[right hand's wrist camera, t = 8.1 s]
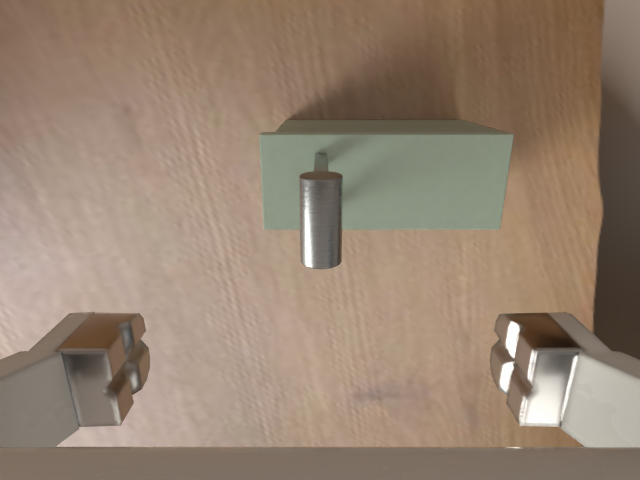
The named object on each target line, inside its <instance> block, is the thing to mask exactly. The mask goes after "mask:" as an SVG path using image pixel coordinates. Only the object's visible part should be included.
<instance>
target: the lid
mask: <svg viewBox="0 0 640 480" xmlns="http://www.w3.org/2000/svg"><path fill="white" fill-rule="evenodd" d="M513 138H514V134H511V133H507V132H262V133H261V134H260V135H259V139H260V160H261V181H262V202H263V223H264V230H300V246H301V263H302V264H303V265H304V266H306V267H309V268H314V269H328V268H333V267H336V266H338V265H339V264H340V263H341V257H342V230H499V229H500V225H501V219H502V212H503V205H504V199H505V192H506V185H507V178H508V172H509V165H510V158H511V151H512V145H513Z"/></svg>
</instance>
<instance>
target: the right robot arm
mask: <svg viewBox="0 0 640 480" xmlns="http://www.w3.org/2000/svg"><path fill="white" fill-rule="evenodd" d="M145 331H146V329H145V324H144V319H143V317H142V316H141V315H140V314H138V313H94V312H85V313H69V314H68V315H67V316H66V317H65V318H64V319H63V320H62V321H61V322H60V323H59V324H57V325H56V326H55V327H54V328H53V329H52V330H51V331H50V332H49V333H48V334H47V335H45V336H44V337H43V338H42V339H41V340H40V341H39V342H38V343H37V344H36V345H35V346H33V347H32V348H31V349H30V350H29V351H28V352H18V353H16V354H13V355H11V356H9V357H6V358H4V359H1V360H0V480H640V360H639V359H636V358H634V357H631V356H629V355H627V354H624V353H622V352H612V351H611V350H610V349H609V348H608V347H607V346H606V345H604V344H603V343H602V342H601V341H600V340H599V339H598V338H597V337H596V336H595V335H594V334H592V333H591V332H590V331H589V330H588V329H587V328H586V327H585V326H584V325H583V324H582V323H580V322H579V321H578V320H577V319H576V318H575V317H574V316H573V315H572V314H570V313H566V312H557V313H515V314H499V315H498V318H497V320H496V323H495V329H494V331H495V333H496V334H497V336H498V337H499V340H498V341H497V343H496V344H495V345H494V346H493V347H492V348H491V356H490V366H491V374H492V377H493V380H494V382H495V384H496V386H497V388H498V389H499V390H501V391H502V392H504V393H505V394H507V395H508V397H507V405H508V407H509V408H510V410H511V412H512V413H513V415H514V417H515V419H516V420H517V422H518V424H519V425H520V426H550V427H561V429H562V430H563V431H565V432H566V433H567V434H569V435H570V436H571V437H573V438H574V439H575V440H577V441H578V442H579V443H581V444H582V445H583V446H585V447H56V446H57V445H58V444H60V443H61V442H62V441H64V440H65V439H66V438H68V437H69V436H70V435H72V434H73V433H74V432H75V431H77V430H78V429H79V427H89V426H120V425H121V424H122V422H123V420H124V419H125V417H126V415H127V414H128V412H129V410H130V408H131V407H132V405H133V397H132V395H133V394H135V393H136V392H138V391H139V390H141V389H142V388H143V386H144V384H145V382H146V380H147V376H148V372H149V368H150V355H149V348H148V347H147V346H146V345H145V344H144V343H143V341H142V340H141V337H142V336H143V334H144V333H145Z"/></svg>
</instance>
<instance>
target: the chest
mask: <svg viewBox="0 0 640 480" xmlns="http://www.w3.org/2000/svg"><path fill="white" fill-rule="evenodd" d="M276 132H503V131H500V130H496V129H492V128H489V127H485V126H482V125H478V124H474V123H471V122H467V121H463V120H286V121H285V122H284V123H283V124H282V125H281V126H280V127H279V128H278V129H277V131H276Z"/></svg>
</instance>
